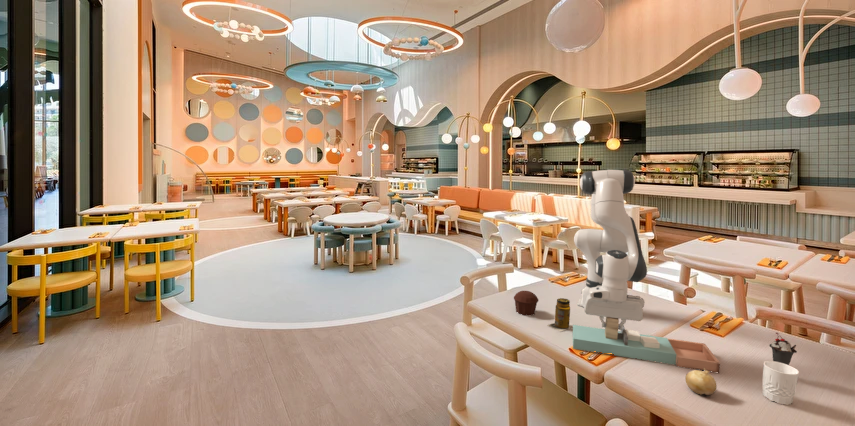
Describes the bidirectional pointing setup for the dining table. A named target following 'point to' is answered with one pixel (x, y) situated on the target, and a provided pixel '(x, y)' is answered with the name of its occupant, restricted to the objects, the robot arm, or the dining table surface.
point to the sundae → (782, 350)
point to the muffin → (525, 302)
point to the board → (621, 345)
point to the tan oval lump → (701, 382)
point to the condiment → (562, 315)
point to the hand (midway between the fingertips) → (611, 328)
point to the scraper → (615, 330)
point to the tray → (694, 355)
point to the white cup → (779, 381)
